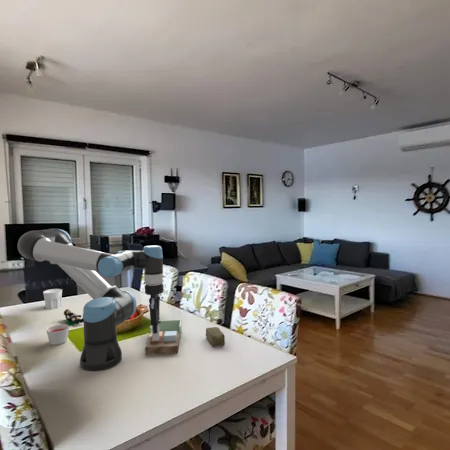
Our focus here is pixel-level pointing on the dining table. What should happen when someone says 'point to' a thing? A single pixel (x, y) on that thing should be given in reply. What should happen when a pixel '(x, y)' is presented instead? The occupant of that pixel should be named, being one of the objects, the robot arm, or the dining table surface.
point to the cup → (53, 298)
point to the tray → (170, 326)
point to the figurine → (72, 318)
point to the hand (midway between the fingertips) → (155, 339)
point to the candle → (57, 334)
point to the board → (162, 346)
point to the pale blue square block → (170, 336)
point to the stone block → (215, 336)
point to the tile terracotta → (159, 337)
